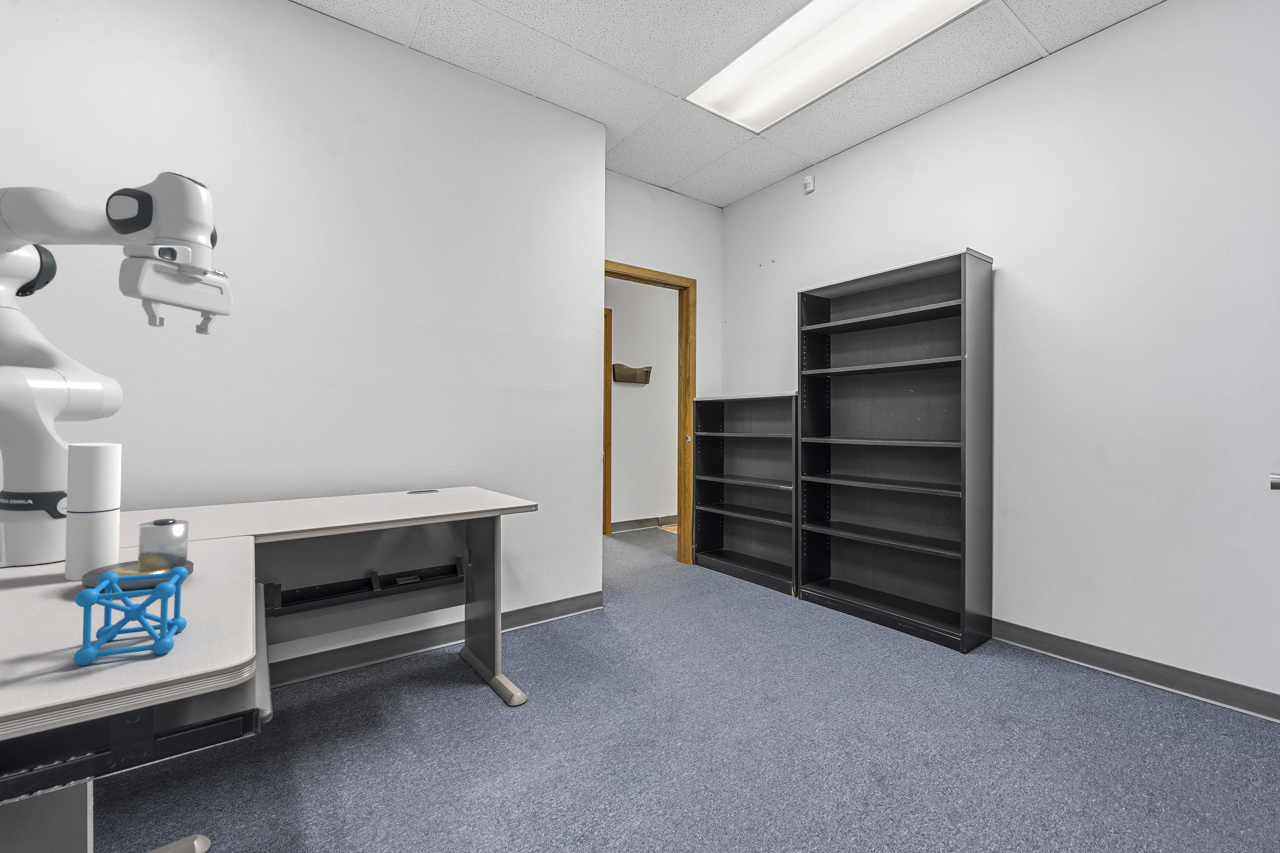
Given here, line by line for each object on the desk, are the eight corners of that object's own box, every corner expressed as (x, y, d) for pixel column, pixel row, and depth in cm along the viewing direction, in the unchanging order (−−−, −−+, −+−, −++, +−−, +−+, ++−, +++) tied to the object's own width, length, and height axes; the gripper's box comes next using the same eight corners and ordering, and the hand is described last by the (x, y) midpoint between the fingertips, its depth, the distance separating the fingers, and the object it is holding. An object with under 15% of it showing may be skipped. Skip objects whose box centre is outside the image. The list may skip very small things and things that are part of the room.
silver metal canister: (127, 568, 99) (128, 522, 99) (165, 558, 106) (166, 515, 106) (160, 572, 98) (161, 525, 98) (196, 562, 105) (198, 518, 105)
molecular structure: (171, 655, 74) (173, 584, 73) (69, 670, 69) (71, 592, 68) (188, 628, 82) (190, 563, 82) (99, 639, 77) (100, 570, 77)
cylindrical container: (56, 582, 98) (60, 445, 97) (75, 570, 104) (78, 442, 103) (109, 578, 101) (113, 446, 100) (124, 567, 107) (128, 443, 107)
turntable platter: (56, 585, 92) (57, 578, 92) (147, 561, 107) (147, 555, 107) (132, 594, 90) (132, 586, 90) (213, 568, 105) (214, 562, 105)
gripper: (216, 273, 116) (214, 337, 116) (112, 243, 96) (110, 320, 96) (242, 274, 115) (240, 338, 116) (143, 243, 95) (141, 322, 95)
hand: (180, 330), depth 106 cm, fingers open, 8 cm apart
